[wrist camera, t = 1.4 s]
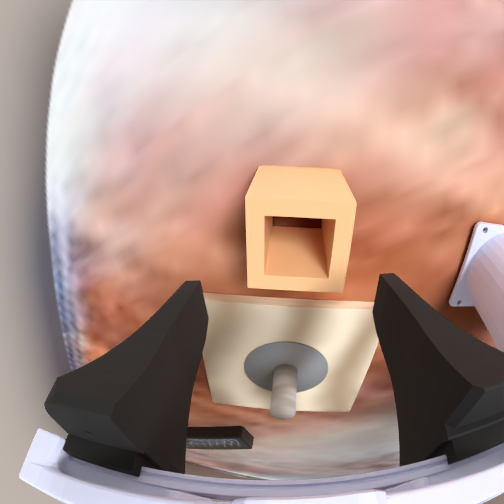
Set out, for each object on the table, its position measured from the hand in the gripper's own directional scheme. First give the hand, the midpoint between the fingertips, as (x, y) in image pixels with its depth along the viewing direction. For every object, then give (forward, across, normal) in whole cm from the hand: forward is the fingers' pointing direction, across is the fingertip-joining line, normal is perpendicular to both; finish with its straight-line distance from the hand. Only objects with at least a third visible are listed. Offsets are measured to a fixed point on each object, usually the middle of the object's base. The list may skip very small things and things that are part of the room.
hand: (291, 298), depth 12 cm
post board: (+10, 0, +16) cm, 19 cm away
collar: (+10, -1, 0) cm, 10 cm away
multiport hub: (+11, +12, +36) cm, 39 cm away
